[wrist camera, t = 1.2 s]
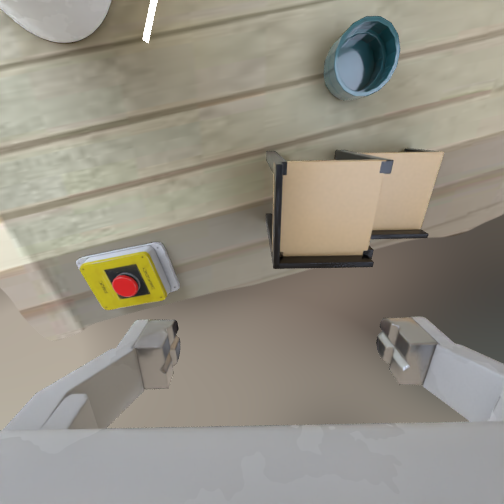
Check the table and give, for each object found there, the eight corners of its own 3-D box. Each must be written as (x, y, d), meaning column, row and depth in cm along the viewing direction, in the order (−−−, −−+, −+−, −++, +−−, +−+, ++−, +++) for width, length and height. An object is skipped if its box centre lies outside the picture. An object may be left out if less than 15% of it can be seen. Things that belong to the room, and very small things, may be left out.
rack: (266, 151, 33) (276, 164, 20) (413, 148, 33) (518, 159, 20) (265, 221, 38) (273, 268, 25) (395, 218, 38) (472, 265, 25)
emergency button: (174, 303, 39) (88, 319, 41) (181, 288, 43) (102, 302, 45) (152, 253, 35) (57, 271, 37) (162, 240, 39) (76, 258, 41)
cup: (326, 33, 28) (339, 16, 24) (384, 32, 28) (407, 15, 24) (320, 101, 31) (330, 96, 27) (372, 100, 31) (391, 95, 27)
